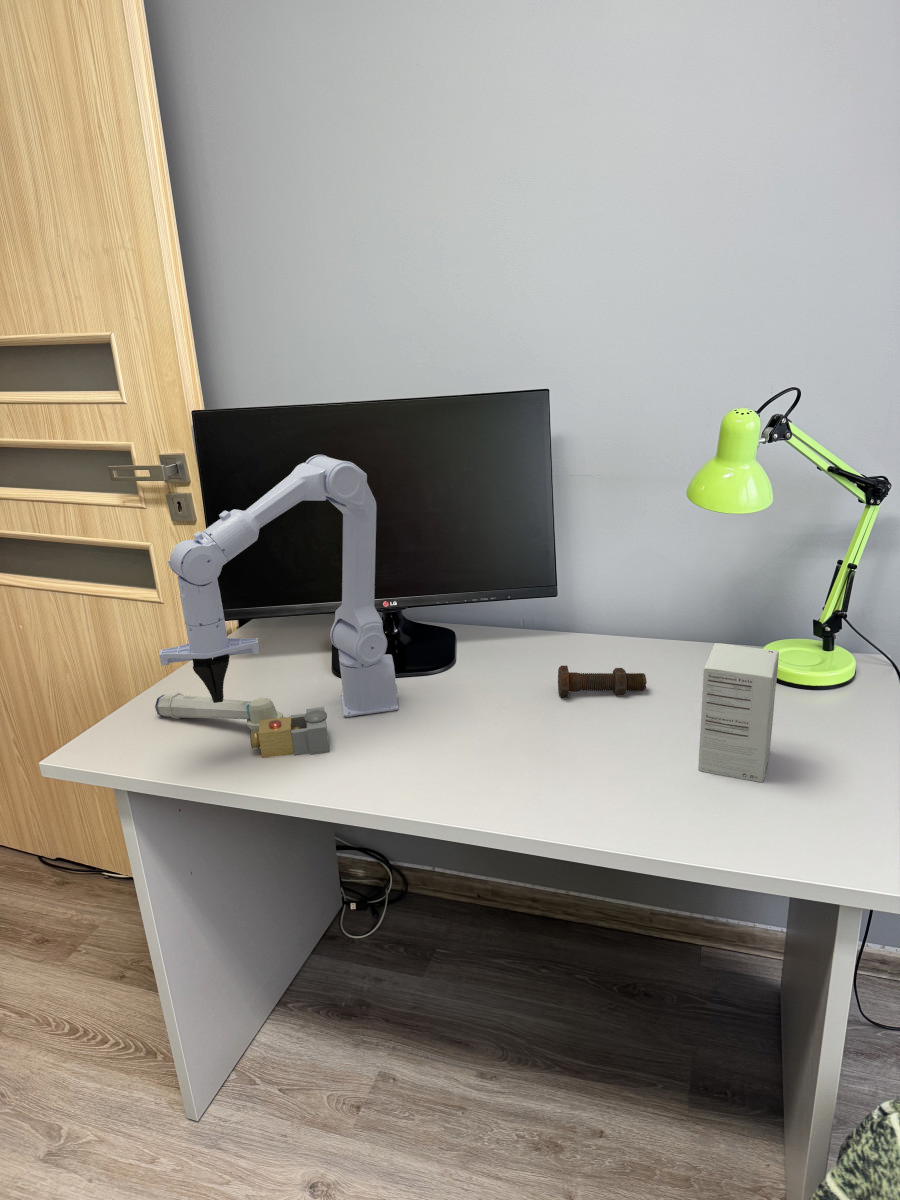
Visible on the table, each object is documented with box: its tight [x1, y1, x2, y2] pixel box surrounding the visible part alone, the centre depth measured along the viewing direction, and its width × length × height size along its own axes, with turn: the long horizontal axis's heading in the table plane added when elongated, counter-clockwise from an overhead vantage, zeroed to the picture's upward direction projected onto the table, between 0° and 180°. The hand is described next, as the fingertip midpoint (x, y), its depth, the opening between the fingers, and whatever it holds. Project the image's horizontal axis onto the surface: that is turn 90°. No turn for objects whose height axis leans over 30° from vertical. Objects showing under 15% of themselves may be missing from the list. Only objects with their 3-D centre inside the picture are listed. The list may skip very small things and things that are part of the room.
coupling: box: [290, 706, 330, 756], centre depth 134 cm, size 6×7×5 cm
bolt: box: [557, 665, 648, 699], centre depth 145 cm, size 6×5×15 cm
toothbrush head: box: [154, 692, 284, 733], centre depth 142 cm, size 5×7×25 cm
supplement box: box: [697, 642, 780, 783], centre depth 120 cm, size 10×9×17 cm
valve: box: [249, 716, 302, 759], centre depth 133 cm, size 8×4×5 cm, turn 99°
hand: (218, 699), depth 130 cm, fingers closed
